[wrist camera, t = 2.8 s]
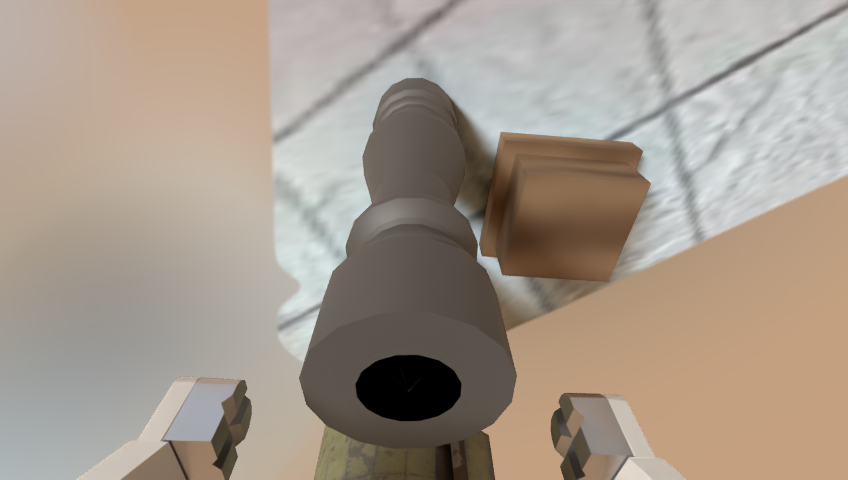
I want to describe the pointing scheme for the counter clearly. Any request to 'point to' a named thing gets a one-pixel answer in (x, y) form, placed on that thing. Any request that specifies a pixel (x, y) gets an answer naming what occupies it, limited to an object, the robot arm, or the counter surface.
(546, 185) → the walnut stand
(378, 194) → the candle holder
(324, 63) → the counter surface
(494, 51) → the counter surface
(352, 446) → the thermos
